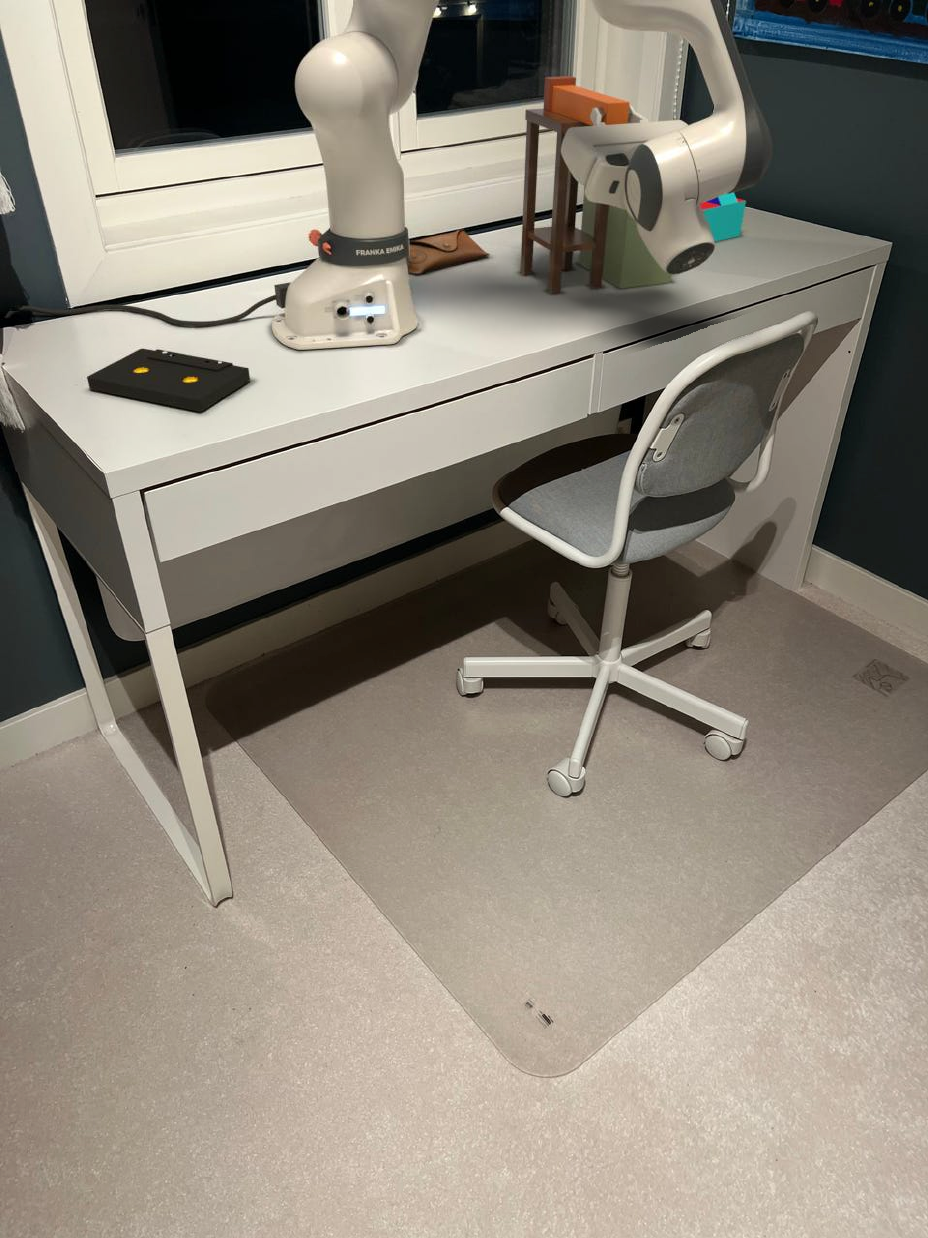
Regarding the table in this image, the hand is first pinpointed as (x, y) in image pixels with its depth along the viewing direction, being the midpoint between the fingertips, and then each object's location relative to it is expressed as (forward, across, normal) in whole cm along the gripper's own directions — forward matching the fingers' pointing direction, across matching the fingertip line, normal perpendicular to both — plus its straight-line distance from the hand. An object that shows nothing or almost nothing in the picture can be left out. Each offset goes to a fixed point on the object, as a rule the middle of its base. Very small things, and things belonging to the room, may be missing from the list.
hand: (610, 110), depth 141 cm
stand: (-4, 0, +31) cm, 31 cm away
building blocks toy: (+16, -34, +42) cm, 57 cm away
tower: (+6, 0, +6) cm, 8 cm away
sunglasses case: (+12, +16, +40) cm, 44 cm away
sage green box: (-4, -12, +30) cm, 33 cm away
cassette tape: (-23, +70, +19) cm, 76 cm away
